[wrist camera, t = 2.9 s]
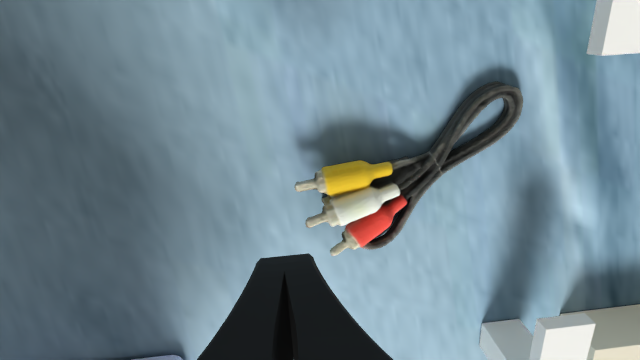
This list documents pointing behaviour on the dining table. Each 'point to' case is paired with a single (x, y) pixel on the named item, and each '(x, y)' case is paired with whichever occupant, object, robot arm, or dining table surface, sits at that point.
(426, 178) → the composite cable
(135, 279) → the dining table surface
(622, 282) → the dining table surface
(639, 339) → the end holder
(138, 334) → the dining table surface
